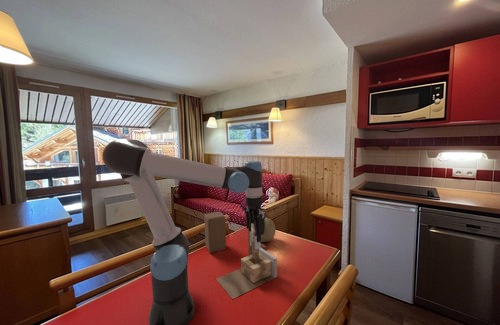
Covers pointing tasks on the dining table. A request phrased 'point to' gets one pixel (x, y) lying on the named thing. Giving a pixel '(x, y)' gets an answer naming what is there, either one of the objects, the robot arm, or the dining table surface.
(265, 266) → the oak block
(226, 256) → the dining table surface
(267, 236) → the cantaloupe
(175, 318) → the robot arm
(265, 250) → the wooden block
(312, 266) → the dining table surface
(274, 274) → the wall
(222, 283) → the jig board
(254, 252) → the dowel
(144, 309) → the dining table surface
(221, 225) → the block
